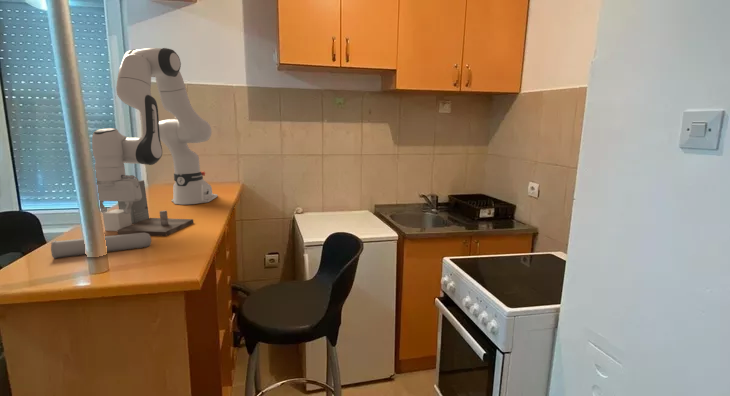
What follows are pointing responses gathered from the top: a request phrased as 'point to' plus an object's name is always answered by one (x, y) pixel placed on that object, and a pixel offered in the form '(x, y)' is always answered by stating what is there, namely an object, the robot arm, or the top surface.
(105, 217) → the grey cube
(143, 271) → the top surface
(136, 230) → the peg board
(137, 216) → the skincare box
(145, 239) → the tube
